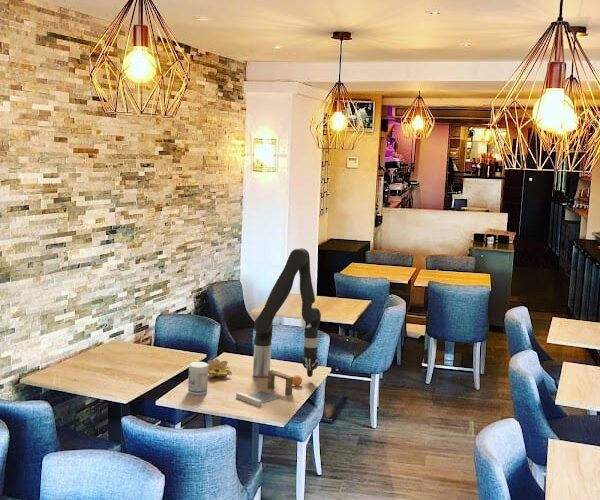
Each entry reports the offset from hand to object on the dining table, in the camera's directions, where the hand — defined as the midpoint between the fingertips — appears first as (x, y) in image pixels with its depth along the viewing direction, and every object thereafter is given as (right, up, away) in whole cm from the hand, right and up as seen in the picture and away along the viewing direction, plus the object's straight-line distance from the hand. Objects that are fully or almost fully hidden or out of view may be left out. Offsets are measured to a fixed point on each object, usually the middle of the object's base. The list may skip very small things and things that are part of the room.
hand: (309, 376), depth 372 cm
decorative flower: (-50, -1, +1) cm, 50 cm away
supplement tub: (-57, -4, -23) cm, 61 cm away
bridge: (-16, -5, -17) cm, 23 cm away
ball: (-7, -1, -7) cm, 10 cm away
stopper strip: (-30, -6, -33) cm, 45 cm away
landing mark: (-24, -6, -26) cm, 36 cm away
